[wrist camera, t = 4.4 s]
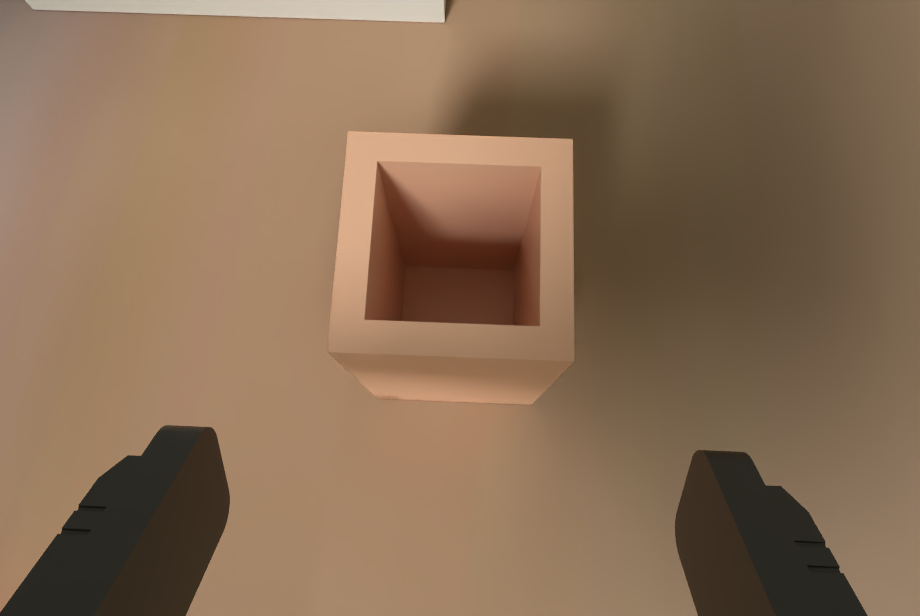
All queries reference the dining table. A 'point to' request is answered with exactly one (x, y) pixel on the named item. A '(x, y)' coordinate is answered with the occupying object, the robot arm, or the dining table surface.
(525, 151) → the tub
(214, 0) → the tray
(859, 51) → the dining table surface
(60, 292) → the dining table surface
